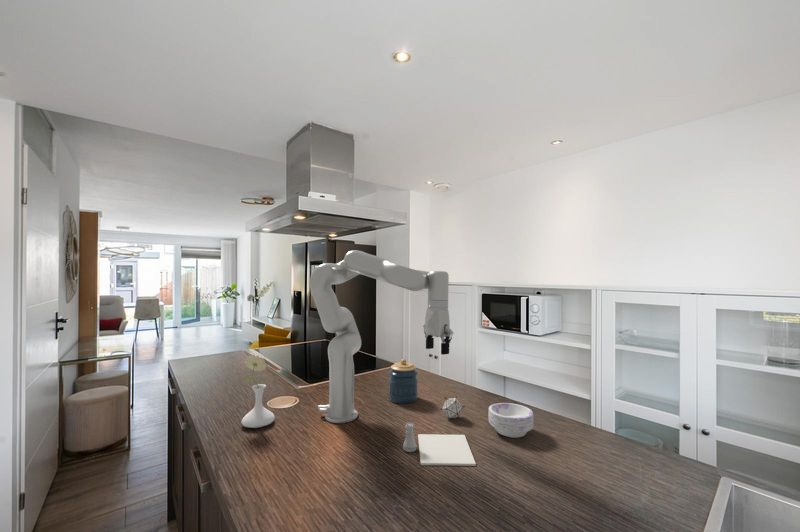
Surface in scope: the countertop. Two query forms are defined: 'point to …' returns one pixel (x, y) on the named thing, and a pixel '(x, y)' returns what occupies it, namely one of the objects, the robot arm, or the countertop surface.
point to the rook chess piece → (409, 438)
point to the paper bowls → (511, 419)
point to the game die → (452, 408)
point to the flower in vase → (257, 397)
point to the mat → (445, 450)
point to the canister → (403, 382)
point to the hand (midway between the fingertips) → (437, 351)
